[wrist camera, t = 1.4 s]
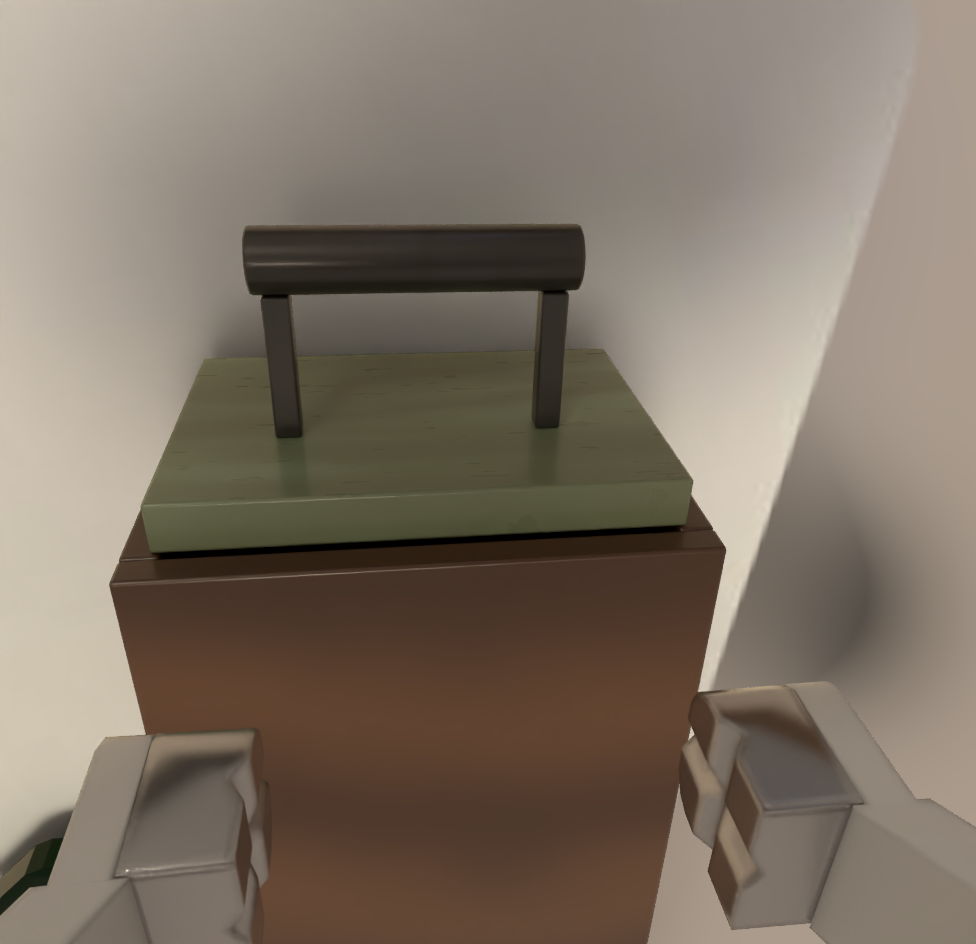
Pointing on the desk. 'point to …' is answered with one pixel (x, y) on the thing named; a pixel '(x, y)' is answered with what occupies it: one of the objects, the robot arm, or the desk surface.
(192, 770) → the robot arm
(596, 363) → the drawer
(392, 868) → the cabinet
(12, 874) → the flat green button pad
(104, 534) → the desk surface
